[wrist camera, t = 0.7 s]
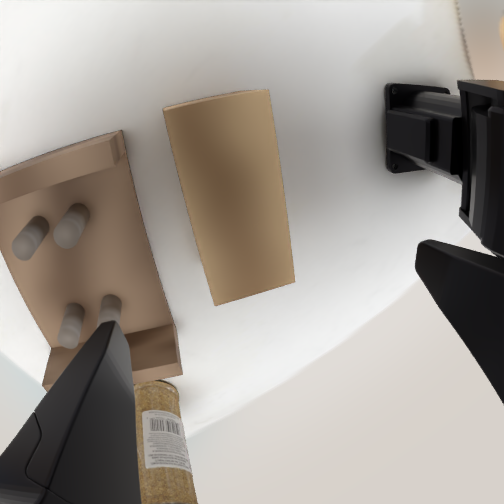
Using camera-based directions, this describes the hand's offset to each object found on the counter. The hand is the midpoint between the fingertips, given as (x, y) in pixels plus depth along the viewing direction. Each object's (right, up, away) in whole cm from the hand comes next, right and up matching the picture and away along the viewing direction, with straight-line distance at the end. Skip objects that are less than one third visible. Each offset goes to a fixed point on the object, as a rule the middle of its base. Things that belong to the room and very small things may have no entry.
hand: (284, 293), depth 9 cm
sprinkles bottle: (-10, -11, +17) cm, 23 cm away
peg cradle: (-12, 0, +10) cm, 16 cm away
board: (-3, +5, +10) cm, 12 cm away
